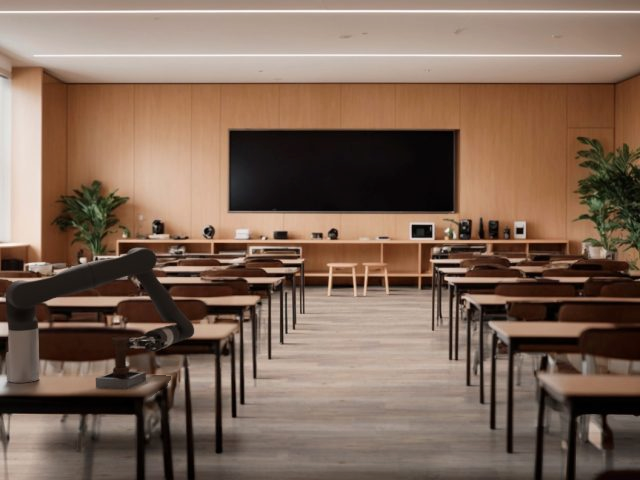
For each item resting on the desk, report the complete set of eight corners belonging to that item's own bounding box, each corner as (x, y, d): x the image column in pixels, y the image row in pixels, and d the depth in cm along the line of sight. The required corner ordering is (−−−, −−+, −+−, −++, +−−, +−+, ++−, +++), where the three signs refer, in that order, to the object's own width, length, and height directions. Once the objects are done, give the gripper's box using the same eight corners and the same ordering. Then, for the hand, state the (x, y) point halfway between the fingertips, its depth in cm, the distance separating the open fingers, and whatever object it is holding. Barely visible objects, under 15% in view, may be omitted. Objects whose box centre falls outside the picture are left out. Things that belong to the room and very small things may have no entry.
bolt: (124, 386, 225) (123, 339, 225) (109, 385, 226) (108, 339, 226) (132, 382, 231) (131, 336, 230) (118, 381, 232) (117, 336, 231)
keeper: (95, 387, 224) (95, 377, 224) (115, 379, 235) (115, 370, 235) (127, 389, 221) (127, 379, 221) (146, 381, 232) (145, 372, 232)
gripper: (140, 327, 253) (115, 335, 238) (176, 328, 249) (153, 336, 234) (141, 348, 254) (116, 357, 238) (176, 350, 250) (153, 359, 234)
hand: (134, 347), depth 236 cm, fingers open, 8 cm apart
